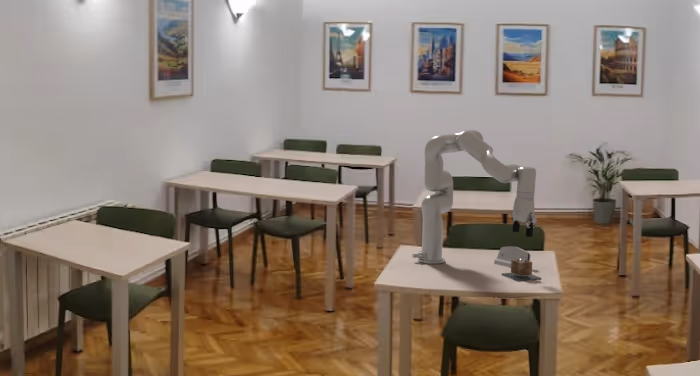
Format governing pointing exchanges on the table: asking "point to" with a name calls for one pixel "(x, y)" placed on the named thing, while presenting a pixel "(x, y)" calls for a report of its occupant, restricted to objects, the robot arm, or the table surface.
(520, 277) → the post
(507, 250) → the hinge
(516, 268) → the collar
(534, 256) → the table surface
